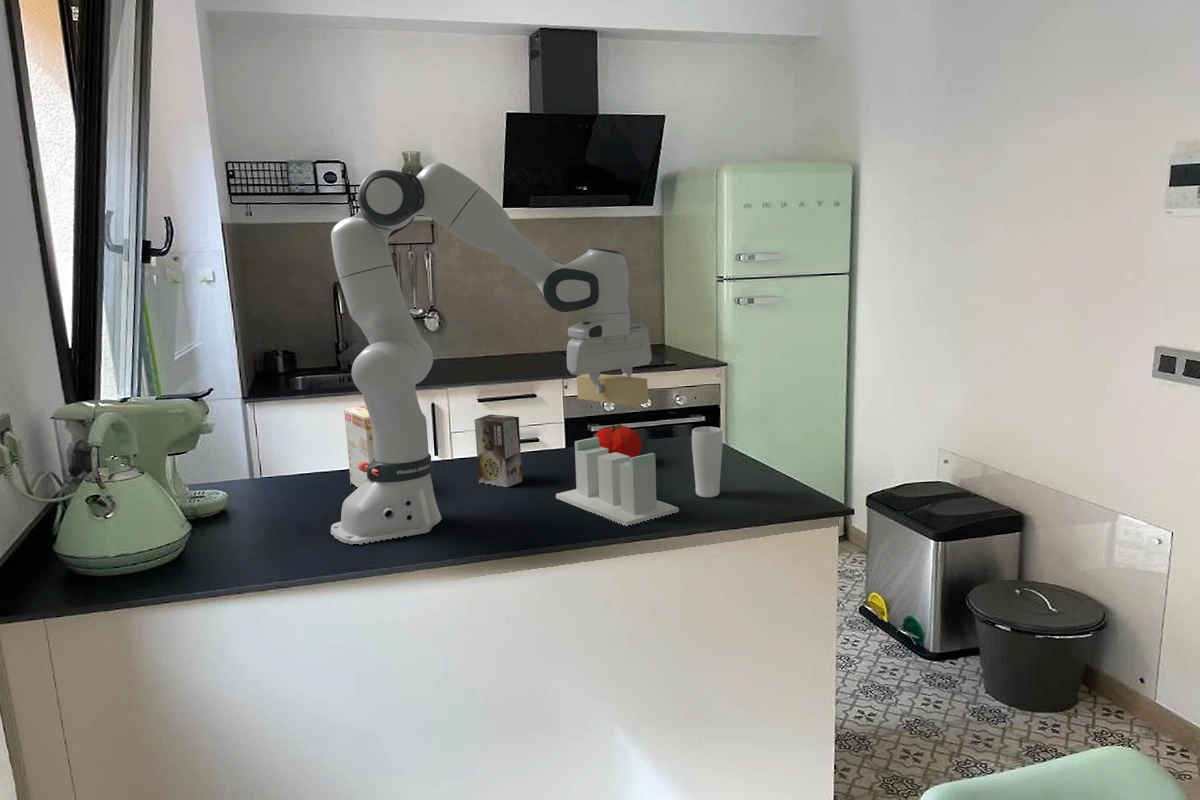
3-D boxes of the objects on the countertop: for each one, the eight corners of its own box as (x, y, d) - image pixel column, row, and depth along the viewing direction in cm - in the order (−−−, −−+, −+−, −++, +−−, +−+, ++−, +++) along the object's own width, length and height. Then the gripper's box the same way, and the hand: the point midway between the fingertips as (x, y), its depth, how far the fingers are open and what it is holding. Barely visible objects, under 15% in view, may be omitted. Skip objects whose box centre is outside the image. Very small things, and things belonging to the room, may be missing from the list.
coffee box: (523, 481, 210) (520, 416, 207) (507, 488, 205) (503, 421, 202) (494, 476, 215) (490, 413, 212) (477, 483, 209) (473, 418, 206)
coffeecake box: (400, 494, 203) (394, 413, 199) (371, 500, 199) (363, 417, 195) (378, 480, 215) (371, 404, 211) (349, 486, 211) (342, 408, 207)
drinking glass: (721, 499, 190) (721, 433, 187) (691, 498, 192) (690, 433, 189) (723, 490, 197) (723, 426, 194) (693, 489, 198) (693, 426, 195)
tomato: (611, 457, 230) (610, 418, 228) (650, 462, 223) (649, 422, 221) (581, 468, 220) (579, 428, 218) (621, 475, 212) (620, 433, 210)
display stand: (626, 526, 175) (624, 464, 172) (556, 498, 195) (553, 442, 193) (678, 512, 183) (677, 452, 180) (605, 486, 204) (603, 432, 201)
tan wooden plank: (634, 405, 178) (633, 381, 177) (577, 398, 188) (576, 376, 187) (648, 402, 181) (647, 378, 180) (591, 395, 192) (590, 373, 191)
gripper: (638, 320, 190) (640, 382, 193) (561, 329, 178) (564, 395, 181) (656, 322, 185) (658, 385, 188) (578, 331, 173) (581, 399, 176)
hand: (611, 390), depth 184 cm, fingers closed on tan wooden plank, 5 cm apart
